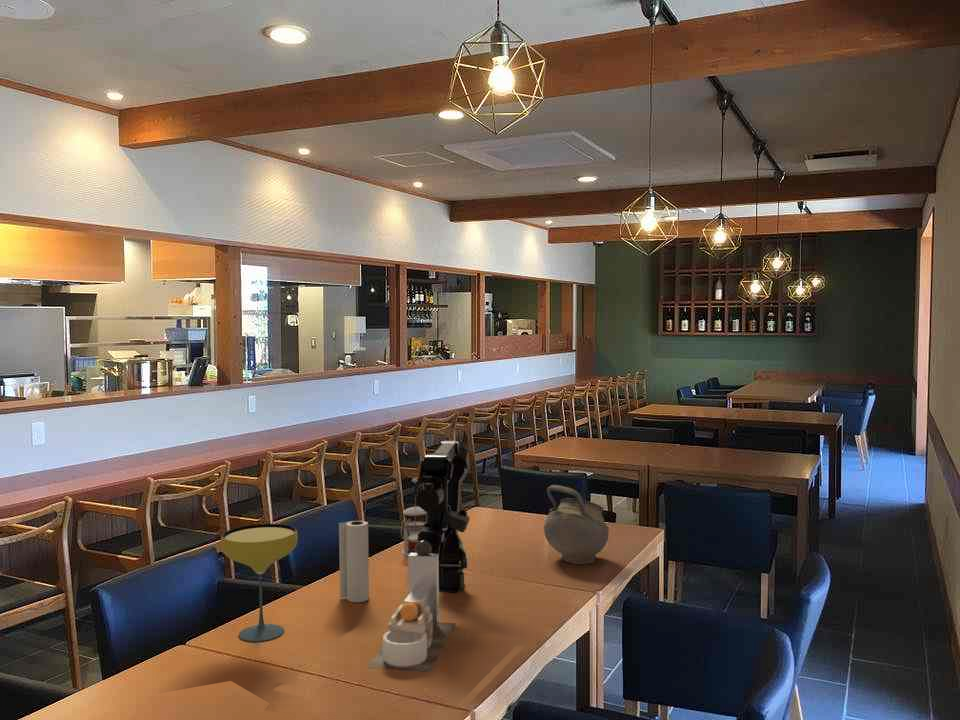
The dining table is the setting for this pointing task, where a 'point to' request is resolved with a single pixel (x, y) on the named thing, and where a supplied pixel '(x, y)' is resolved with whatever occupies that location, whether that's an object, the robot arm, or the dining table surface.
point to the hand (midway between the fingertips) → (437, 560)
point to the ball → (409, 611)
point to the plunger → (424, 580)
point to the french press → (412, 524)
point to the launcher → (418, 625)
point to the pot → (575, 527)
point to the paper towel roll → (354, 561)
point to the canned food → (412, 543)
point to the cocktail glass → (259, 563)
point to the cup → (404, 648)
